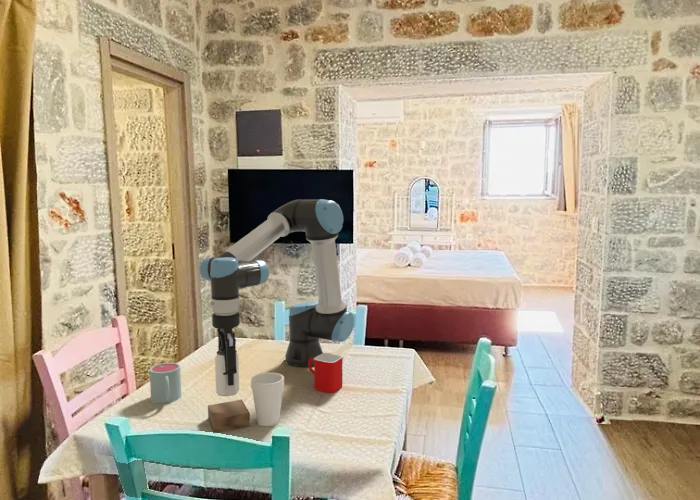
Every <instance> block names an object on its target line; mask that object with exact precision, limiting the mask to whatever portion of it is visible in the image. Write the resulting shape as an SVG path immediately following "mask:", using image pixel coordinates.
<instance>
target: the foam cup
mask: <svg viewBox="0 0 700 500" xmlns="http://www.w3.org/2000/svg"><path fill="white" fill-rule="evenodd" d="M250 387H251V388H250V389H251V390H252V396H253V403H254V409H255V416H256V421H257V424H258V425H259V426H262V427H271V426H272V427H273V426H275V425H277V424H279V422H280V417H281V407H282V399H283V390H284V388H285V376H284V375H283V374H282V373H278V372H272V371H271V372H270V371H269V372H262V373H257V374H255V375H254V376H252V377H251V379H250Z"/></svg>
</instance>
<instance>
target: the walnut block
mask: <svg viewBox="0 0 700 500" xmlns="http://www.w3.org/2000/svg"><path fill="white" fill-rule="evenodd" d="M250 414H251V413H250V410H249V409H248V407H247V406H246V404H245V402H244V400H243V399H236V400H232V401H225V402H219V403H214V404H207V415H208V416H207V417H208V418H207V419H208V420H209V423H210V426H211V429H212V432H213V433H214V432H218V433H222V432H228V431H233V430H238V429H241V428H242V429H243V428H248V427H251V420H250V419H251V418H250V417H251V415H250Z"/></svg>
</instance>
